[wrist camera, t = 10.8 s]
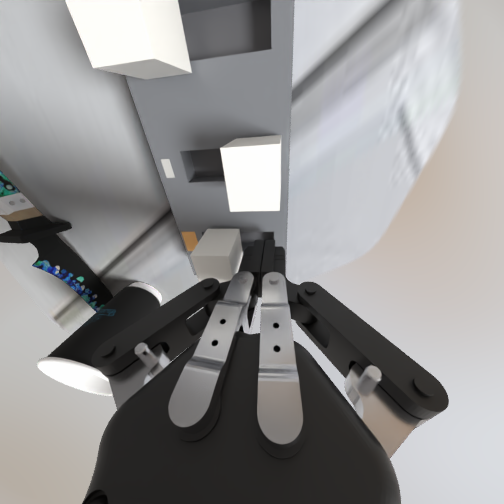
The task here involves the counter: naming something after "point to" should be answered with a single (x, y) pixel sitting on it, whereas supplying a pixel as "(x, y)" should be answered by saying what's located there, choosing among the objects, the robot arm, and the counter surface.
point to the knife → (48, 245)
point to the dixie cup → (98, 339)
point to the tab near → (132, 36)
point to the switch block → (221, 112)
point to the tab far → (218, 254)
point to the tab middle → (253, 173)
